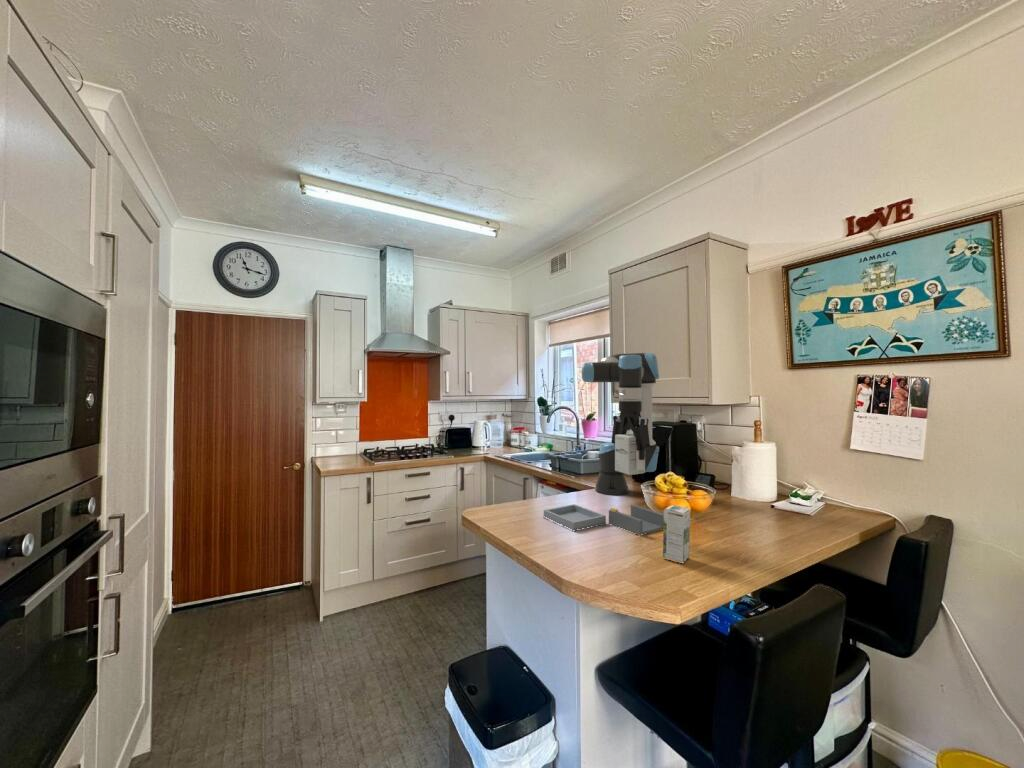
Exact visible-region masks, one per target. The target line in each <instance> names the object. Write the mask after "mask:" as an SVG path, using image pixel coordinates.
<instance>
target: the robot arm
mask: <svg viewBox="0 0 1024 768" xmlns="http://www.w3.org/2000/svg"><path fill="white" fill-rule="evenodd" d="M581 379H582V381H583V382H585V383H592V384H593V383H618V399H619V401H618V411H619V413H620V414H619V415H612V419H613V420H612V422H613V426H612V434H611V441H606V442H603V443H601V444H600V445H599V452H598V455H599V456H598V457H599V458H598V459H599V462H598V463H599V467H598V468H599V471H598V473H599V475H598V477H597V481H596V484H595V492H597V493H599V494H603V495H609V496H620V495H621V496H623V495H626V494H629V486H628V482H627V479H626V474H625V473H622V472H619V471H615V435H619V434H620V435H622V434H628V430H629V429H630V431H632V434H634V437H636V444H637V447H638V449H637V450H636V470H641V469H643V460H644V459H645V473H647V472H648V473H652V472H655V471H656V470H657V467H658V466H657V464H658V458H659V452H660V446H658V445H656V444H657V443H656V441H655V440H654V439H653V386H655V384H656V382H657V380H659V379H660V373H659V364H658V358H657V356H656V354H655V353H652V352H640V353H639V352H637V353H636V352H635V353H619V354H618V353H617V354H614V355H609V356H606V357H604V358H602V359H601V360H600V361H597V362H596V361H595V362H593V361H589V362H584V363H582V365H581Z"/></svg>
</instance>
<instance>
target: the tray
mask: <svg viewBox="0 0 1024 768" xmlns="http://www.w3.org/2000/svg"><path fill="white" fill-rule="evenodd" d="M544 516H545V517H547V518H549V519H551V520H553V521H555V522H557V523H559V524H562V525H563V526H566V527H568V528H570V529H572V530H577V529H582V528H587V527H591V526H595V527H597V526H596V525H600V526H602V525H601V524H604V525H606V523H607V522H606V520H607V518H606V517H607V515H606V514H602V513H599V512H597V511H593V510H592V509H588V508H586V507H583V506H580V505H577V504H574V503H573V504H569V505H564V506H563V505H562V506H558V507H553V508H547V509H543V517H544ZM591 528H592V527H591ZM587 529H588V528H587Z"/></svg>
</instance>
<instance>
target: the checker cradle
mask: <svg viewBox="0 0 1024 768" xmlns="http://www.w3.org/2000/svg"><path fill="white" fill-rule="evenodd" d="M610 524H612V525H611V526H613V525H615V526H617V527H616V528H618V527H620V528H623V529H625V530H628V531H631V532H633V533H636V534H639V535H641V534H645V533H649V534H651V533H650V532H652V533H655V532H654V531H656V532H658V530H660V531H662V530H661V529H664V513H662V512H658V511H655V510H652V509H649V508H646V507H643V506H640V505H636V504H631V505H630V515H629V514H627V513H624V512H621V511H619V509H618V508H614V507H610V509H608V525H610ZM615 526H614V527H615ZM620 528H619V529H620ZM623 529H622V530H623ZM625 530H624V531H625ZM628 531H627V532H628ZM631 532H630V533H631ZM633 533H632V534H633ZM636 534H635V535H636ZM645 535H646V534H645Z"/></svg>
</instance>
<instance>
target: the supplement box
mask: <svg viewBox="0 0 1024 768" xmlns="http://www.w3.org/2000/svg"><path fill="white" fill-rule="evenodd" d="M637 449H638V447H637V444H636V437H634V434H633V433H626V434H622V435H620V434H619V435H615V471H619V472H622V473H625V475H629V476H633V475H639V474H640V475H641V474H645V473H646V472H645V459H644V460H643V469H641V470H636V450H637Z"/></svg>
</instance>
